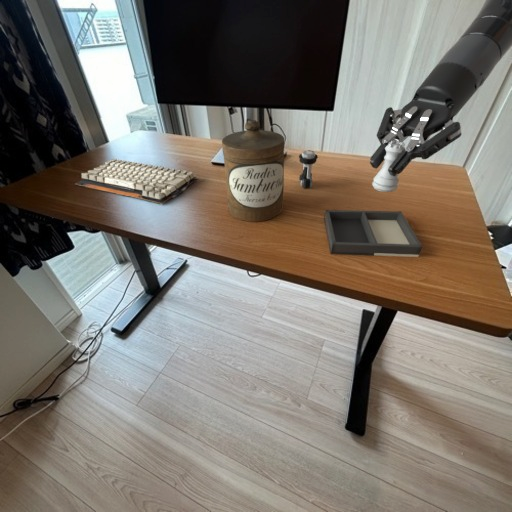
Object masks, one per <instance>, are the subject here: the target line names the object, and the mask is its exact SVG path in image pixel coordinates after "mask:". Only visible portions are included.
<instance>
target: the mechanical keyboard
mask: <svg viewBox="0 0 512 512" xmlns="http://www.w3.org/2000/svg"><path fill="white" fill-rule="evenodd" d="M81 179H82V180H80V181H78V182H77V181H76V182H75V184H73V185H74V186H78V187H82V188H87V189H91V190H97V191H101V192H106V193H111V194H114V195H115V194H116V195H120V196H126V197H130V198H136V199H139V200H144V201H147V202H153V203H157V204H160V205H163V204H165V202H168V200H170V199H171V198H172V199H174V198H176V197H177V196H179V195H181V193H184V191H186V189H187V187H188V186H190V185H192V184H193V183H194V182H196V181H197V176H195V174H194V171H187V170H181V169H176V168H169V167H164V166H158V165H153V164H147V163H141V162H136V161H133V162H132V161H129V160H128V161H127V160H123V159H117V158H111V160H107V161H105V162H104V164H103V163H102V164H101V165H99V167H97V166H96V167H94V168H93V169H89V170H87V172H81Z"/></svg>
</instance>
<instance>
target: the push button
mask: <svg viewBox="0 0 512 512" xmlns="http://www.w3.org/2000/svg"><path fill="white" fill-rule="evenodd" d="M318 158H319V157H318V155H317V154H316V152H315V151H313V150H304V151H302V153H300V154H299V155H298V159H299V163H301V164H302V165H303V166H302V173H301V174H299V178H298V180H299V182H300V183H299V184H300V186H301V187H302V186H303V189H306V190H307V189H310V188H312V185H313V178H312V176H313V174H312V166H313V165H314V164H316V163H317V160H318Z"/></svg>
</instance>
